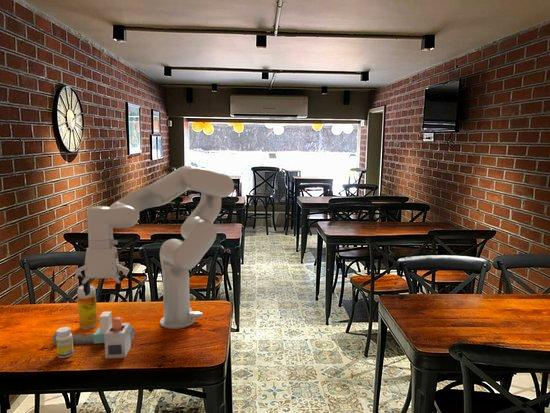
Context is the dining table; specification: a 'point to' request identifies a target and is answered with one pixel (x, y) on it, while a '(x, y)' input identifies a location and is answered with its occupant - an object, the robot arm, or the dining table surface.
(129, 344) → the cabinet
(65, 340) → the supplement bottle
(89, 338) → the rail
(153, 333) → the dining table surface
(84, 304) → the beer can
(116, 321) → the button
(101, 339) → the carriage
